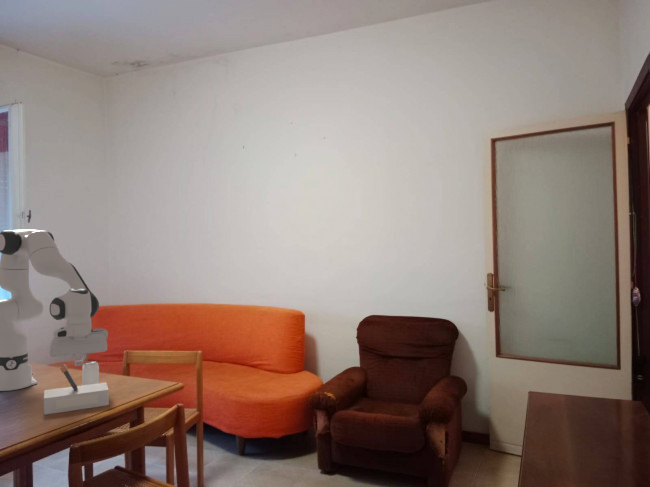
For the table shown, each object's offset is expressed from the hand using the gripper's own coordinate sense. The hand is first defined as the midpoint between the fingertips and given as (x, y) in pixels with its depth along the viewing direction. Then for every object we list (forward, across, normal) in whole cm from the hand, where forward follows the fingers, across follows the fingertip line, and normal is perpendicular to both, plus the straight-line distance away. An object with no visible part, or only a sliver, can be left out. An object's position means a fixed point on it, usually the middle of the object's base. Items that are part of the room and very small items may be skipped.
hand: (79, 365), depth 193 cm
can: (+16, -5, -19) cm, 25 cm away
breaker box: (+15, +1, 0) cm, 15 cm away
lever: (+9, +1, 0) cm, 9 cm away
